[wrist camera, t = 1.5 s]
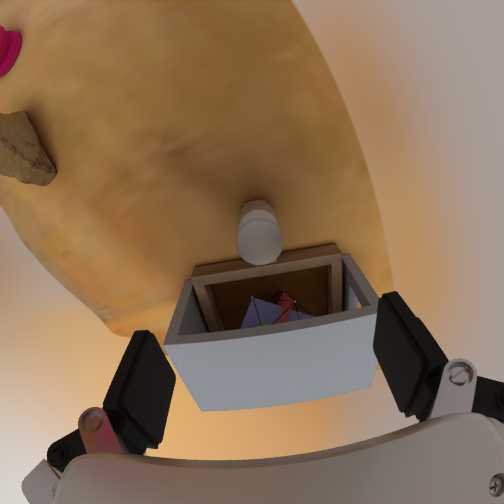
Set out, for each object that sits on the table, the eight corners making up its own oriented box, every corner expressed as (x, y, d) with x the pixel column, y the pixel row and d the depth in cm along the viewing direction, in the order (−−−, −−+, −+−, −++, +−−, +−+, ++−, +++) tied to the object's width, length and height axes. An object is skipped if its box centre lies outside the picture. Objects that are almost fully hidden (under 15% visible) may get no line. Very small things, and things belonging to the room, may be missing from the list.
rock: (67, 181, 20) (45, 85, 15) (-6, 226, 15) (-36, 123, 9) (47, 178, 26) (30, 108, 21) (-6, 210, 21) (-27, 137, 15)
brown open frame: (178, 210, 24) (153, 242, 18) (331, 183, 23) (361, 207, 17) (223, 350, 32) (218, 398, 25) (336, 333, 31) (352, 378, 24)
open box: (185, 280, 28) (163, 345, 19) (349, 253, 27) (387, 310, 18) (210, 347, 32) (201, 411, 23) (347, 326, 31) (371, 386, 22)
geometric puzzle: (265, 266, 25) (245, 353, 21) (329, 289, 26) (317, 370, 22) (243, 289, 31) (225, 357, 27) (296, 306, 32) (283, 371, 28)
